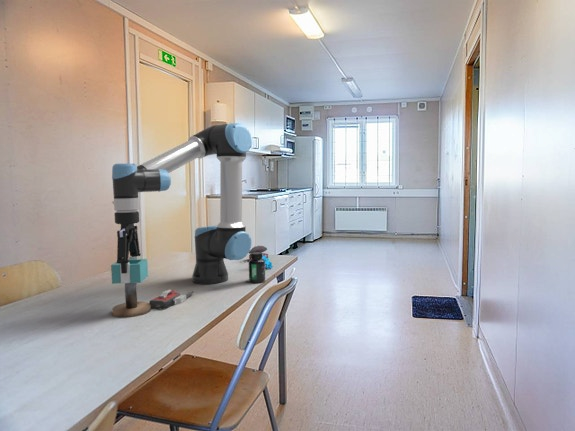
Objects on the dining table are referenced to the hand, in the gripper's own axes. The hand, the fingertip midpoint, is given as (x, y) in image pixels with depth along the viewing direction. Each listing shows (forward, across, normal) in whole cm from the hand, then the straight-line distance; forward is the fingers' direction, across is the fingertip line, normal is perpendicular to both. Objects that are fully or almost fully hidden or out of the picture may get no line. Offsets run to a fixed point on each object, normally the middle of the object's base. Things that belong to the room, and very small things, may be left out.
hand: (130, 279), depth 146 cm
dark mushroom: (+11, -81, +41) cm, 92 cm away
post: (+9, 0, 0) cm, 9 cm away
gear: (+11, -62, +44) cm, 77 cm away
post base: (+11, 0, 0) cm, 11 cm away
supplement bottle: (+11, -36, +41) cm, 56 cm away
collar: (0, 0, 0) cm, 0 cm away
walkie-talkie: (+12, -10, +11) cm, 19 cm away
